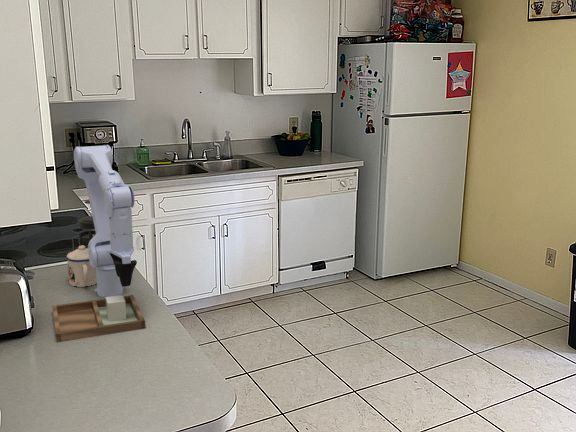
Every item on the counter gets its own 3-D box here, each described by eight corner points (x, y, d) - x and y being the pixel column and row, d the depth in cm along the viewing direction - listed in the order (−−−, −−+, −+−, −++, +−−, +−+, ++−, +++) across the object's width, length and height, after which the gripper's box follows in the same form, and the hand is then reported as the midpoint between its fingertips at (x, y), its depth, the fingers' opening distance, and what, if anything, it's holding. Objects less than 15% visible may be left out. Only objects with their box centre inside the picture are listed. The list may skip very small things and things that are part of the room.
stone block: (106, 314, 156) (105, 297, 155) (123, 312, 158) (122, 294, 156) (108, 321, 152) (107, 303, 151) (126, 318, 154) (125, 301, 153)
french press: (109, 262, 198) (106, 196, 192) (115, 271, 190) (111, 202, 184) (73, 267, 193) (67, 199, 187) (77, 276, 185) (71, 205, 179)
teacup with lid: (67, 279, 183) (64, 243, 180) (97, 275, 187) (95, 240, 184) (70, 293, 173) (67, 255, 170) (103, 288, 176) (100, 251, 173)
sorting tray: (53, 316, 157) (52, 305, 156) (133, 304, 165) (132, 294, 165) (57, 345, 141) (56, 334, 141) (145, 331, 150) (145, 320, 149)
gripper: (101, 226, 159) (104, 273, 162) (109, 241, 146) (112, 292, 149) (128, 223, 162) (130, 270, 165) (138, 238, 149) (140, 289, 152)
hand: (123, 280), depth 157 cm, fingers open, 7 cm apart
